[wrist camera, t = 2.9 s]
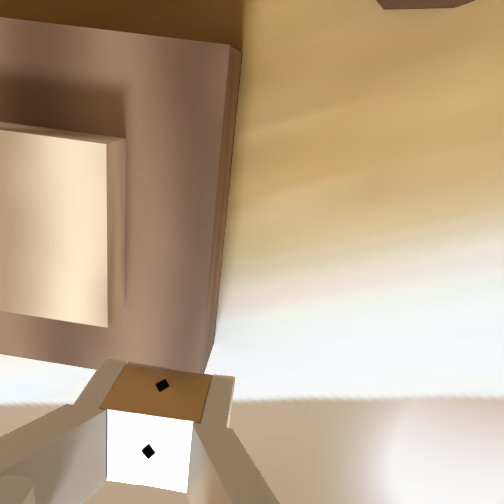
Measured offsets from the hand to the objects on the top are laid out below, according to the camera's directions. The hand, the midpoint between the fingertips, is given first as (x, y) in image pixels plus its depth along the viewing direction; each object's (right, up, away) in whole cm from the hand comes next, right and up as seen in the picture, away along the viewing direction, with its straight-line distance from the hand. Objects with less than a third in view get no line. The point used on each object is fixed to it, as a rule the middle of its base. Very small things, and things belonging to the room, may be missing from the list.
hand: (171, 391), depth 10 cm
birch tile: (-8, +5, +10) cm, 13 cm away
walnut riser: (-6, +6, +13) cm, 16 cm away
